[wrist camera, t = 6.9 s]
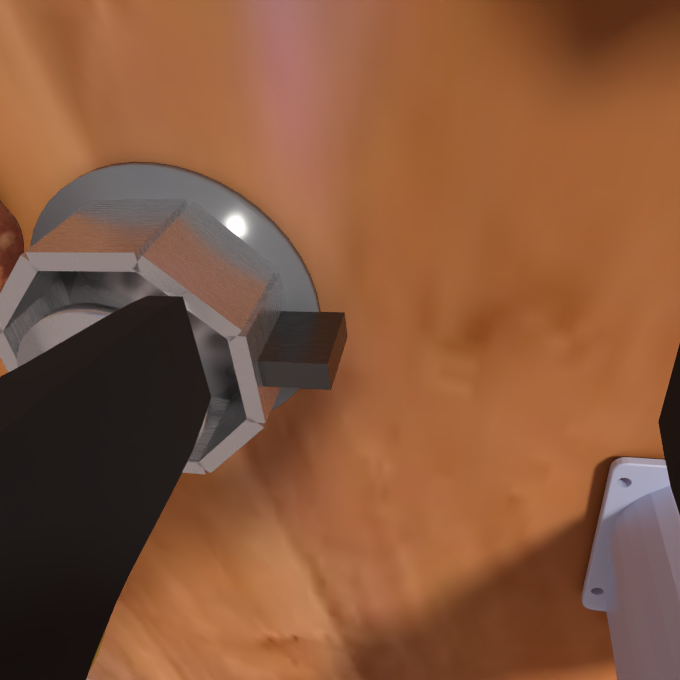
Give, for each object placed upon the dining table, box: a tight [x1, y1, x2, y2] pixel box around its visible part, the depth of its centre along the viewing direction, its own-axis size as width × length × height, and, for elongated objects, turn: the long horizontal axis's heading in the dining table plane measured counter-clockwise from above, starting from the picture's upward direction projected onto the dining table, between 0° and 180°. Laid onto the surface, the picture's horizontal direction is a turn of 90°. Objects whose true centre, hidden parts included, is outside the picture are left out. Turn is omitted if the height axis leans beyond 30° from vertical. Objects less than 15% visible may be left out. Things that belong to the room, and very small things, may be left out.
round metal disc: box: [30, 162, 320, 410], centre depth 23 cm, size 11×11×1 cm
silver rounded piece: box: [17, 271, 237, 445], centre depth 20 cm, size 7×7×6 cm
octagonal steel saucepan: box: [0, 198, 347, 474], centre depth 21 cm, size 9×11×4 cm
